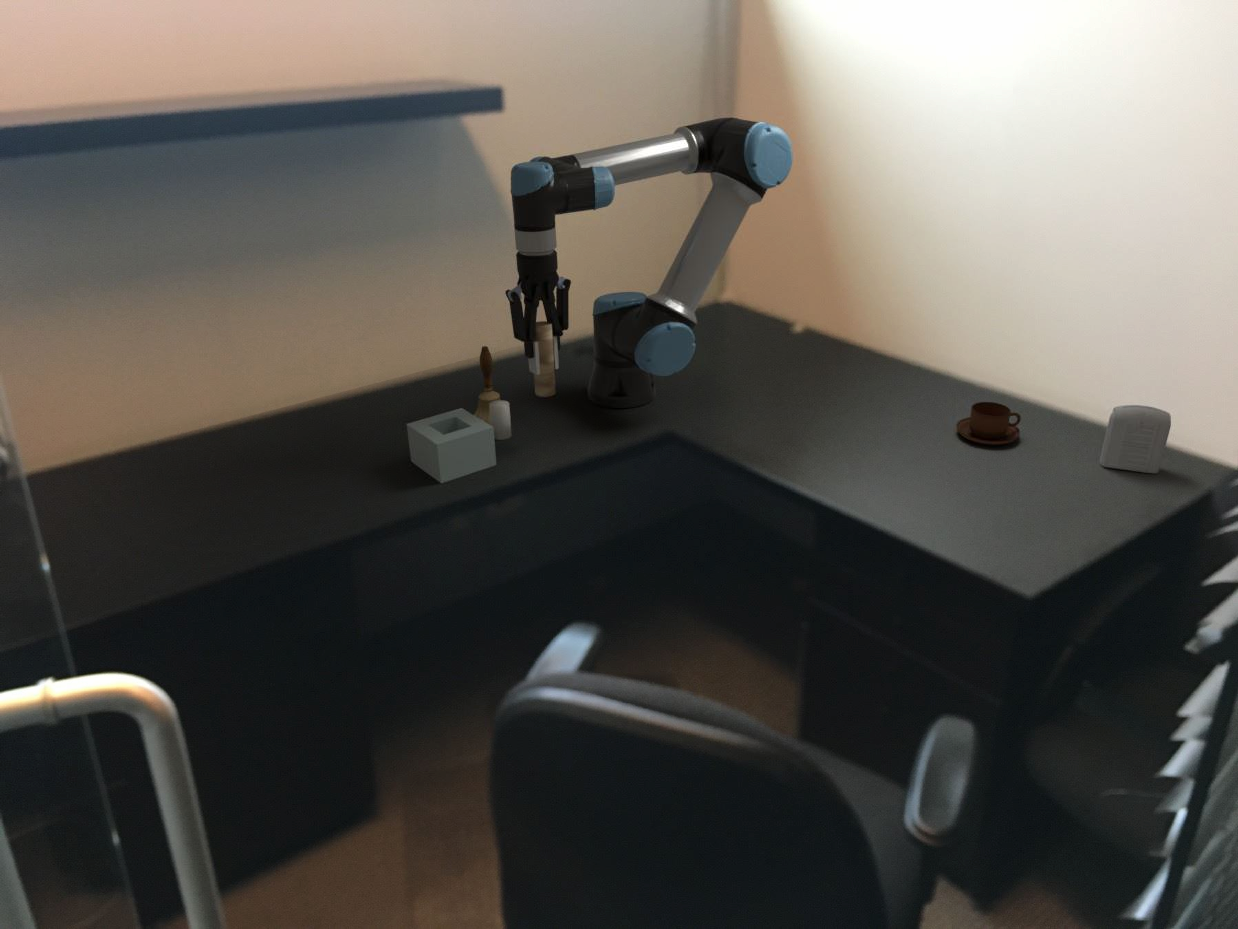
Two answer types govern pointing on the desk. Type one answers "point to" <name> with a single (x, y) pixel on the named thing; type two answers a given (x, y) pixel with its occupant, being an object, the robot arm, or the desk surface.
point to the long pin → (545, 360)
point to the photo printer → (1135, 438)
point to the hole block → (451, 445)
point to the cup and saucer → (989, 424)
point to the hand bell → (486, 387)
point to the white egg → (500, 419)
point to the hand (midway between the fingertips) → (544, 369)
